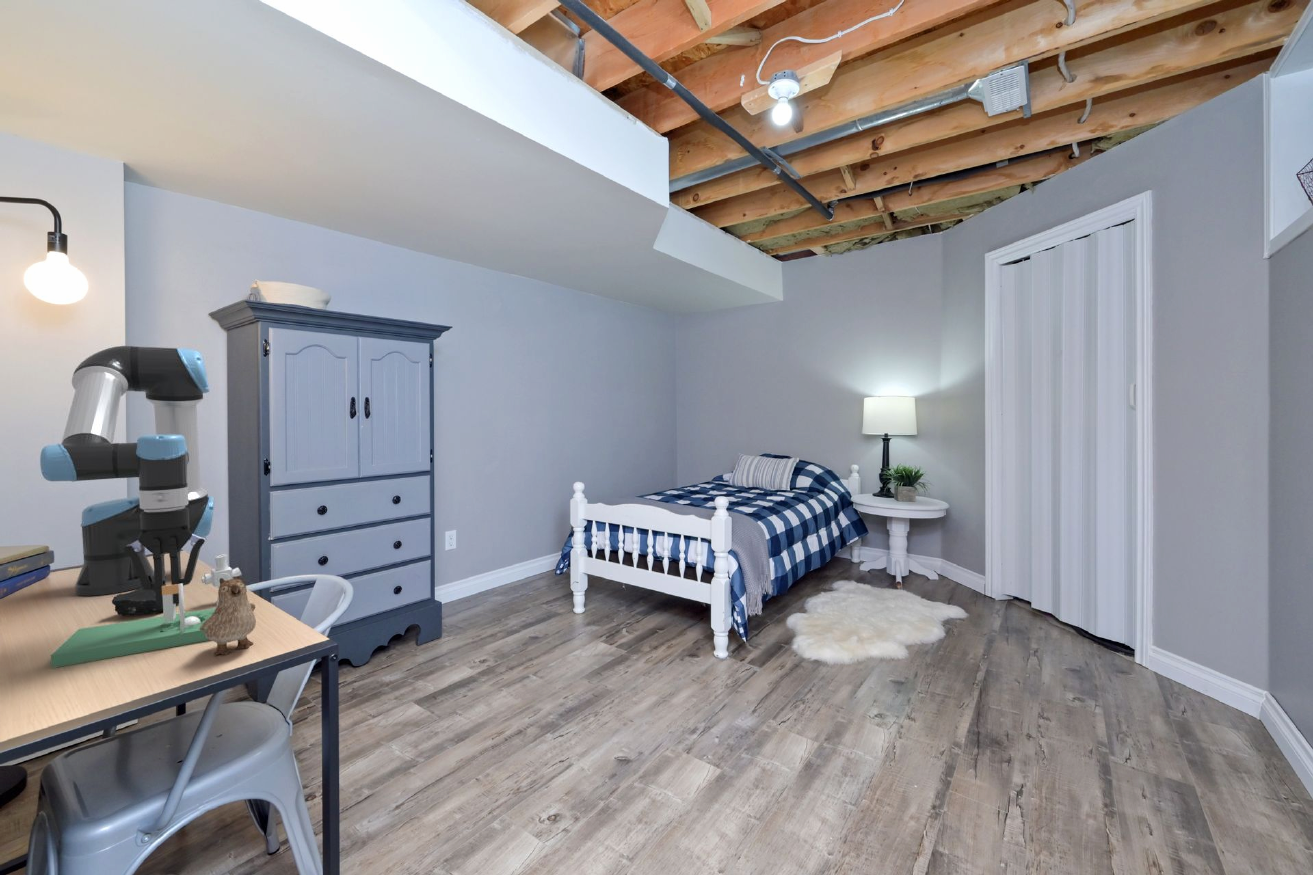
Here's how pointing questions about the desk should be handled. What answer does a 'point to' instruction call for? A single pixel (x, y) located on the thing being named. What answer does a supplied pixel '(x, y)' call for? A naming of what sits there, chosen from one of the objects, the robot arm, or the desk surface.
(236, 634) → the figurine
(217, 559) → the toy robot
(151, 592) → the rock
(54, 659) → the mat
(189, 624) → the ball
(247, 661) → the desk surface
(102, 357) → the robot arm
